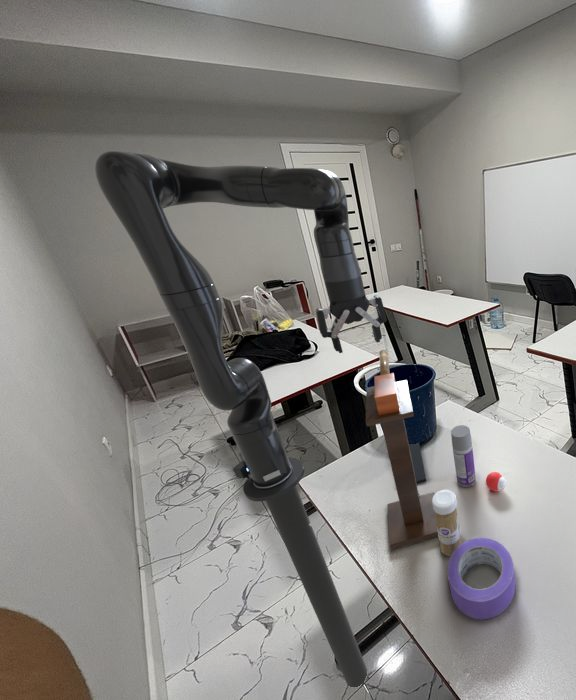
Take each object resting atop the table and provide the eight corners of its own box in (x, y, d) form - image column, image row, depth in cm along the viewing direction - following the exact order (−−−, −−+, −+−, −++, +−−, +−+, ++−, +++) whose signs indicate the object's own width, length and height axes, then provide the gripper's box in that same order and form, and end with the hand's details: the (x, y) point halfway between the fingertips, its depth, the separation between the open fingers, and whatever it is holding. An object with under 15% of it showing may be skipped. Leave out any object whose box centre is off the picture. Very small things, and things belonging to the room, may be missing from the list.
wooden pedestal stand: (443, 537, 74) (421, 409, 61) (390, 552, 72) (356, 423, 59) (434, 494, 85) (414, 378, 72) (388, 506, 83) (358, 389, 70)
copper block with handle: (399, 411, 61) (396, 393, 60) (378, 415, 61) (374, 397, 59) (392, 357, 82) (389, 343, 80) (376, 360, 81) (373, 346, 80)
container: (472, 471, 91) (467, 423, 85) (478, 484, 87) (472, 434, 81) (455, 475, 90) (448, 427, 84) (459, 489, 86) (453, 439, 80)
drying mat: (394, 447, 103) (394, 445, 102) (418, 441, 104) (418, 440, 104) (398, 487, 88) (398, 485, 88) (426, 480, 90) (425, 478, 89)
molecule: (483, 491, 85) (482, 477, 83) (492, 477, 88) (491, 464, 87) (502, 498, 82) (501, 484, 81) (510, 484, 86) (510, 470, 84)
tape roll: (438, 580, 66) (434, 563, 64) (485, 543, 72) (484, 525, 70) (478, 636, 57) (475, 618, 55) (528, 588, 64) (528, 569, 62)
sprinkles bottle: (440, 558, 70) (431, 509, 65) (440, 537, 74) (432, 489, 69) (463, 555, 70) (456, 506, 65) (462, 535, 75) (455, 487, 69)
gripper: (370, 267, 80) (384, 333, 87) (304, 279, 74) (324, 350, 81) (380, 272, 74) (394, 343, 81) (308, 285, 68) (330, 361, 75)
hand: (359, 346), depth 81 cm, fingers open, 8 cm apart
